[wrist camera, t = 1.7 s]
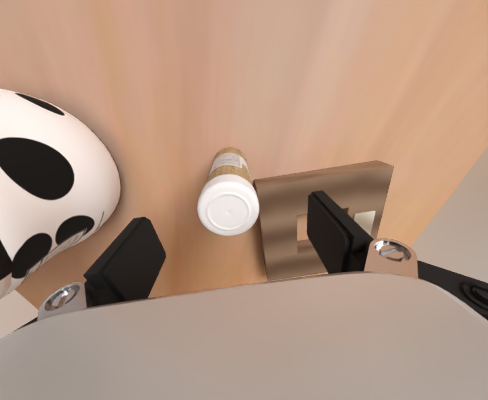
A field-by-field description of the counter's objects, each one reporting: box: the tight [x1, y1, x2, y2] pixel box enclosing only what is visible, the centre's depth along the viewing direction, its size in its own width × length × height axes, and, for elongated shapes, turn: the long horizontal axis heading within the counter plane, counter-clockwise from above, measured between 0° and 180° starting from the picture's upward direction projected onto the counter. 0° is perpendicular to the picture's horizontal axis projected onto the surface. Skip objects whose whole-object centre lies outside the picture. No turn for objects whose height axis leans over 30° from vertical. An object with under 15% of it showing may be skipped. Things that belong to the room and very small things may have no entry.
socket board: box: [254, 161, 394, 281], centre depth 29 cm, size 18×18×3 cm
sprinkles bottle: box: [197, 147, 259, 236], centre depth 19 cm, size 5×5×14 cm
